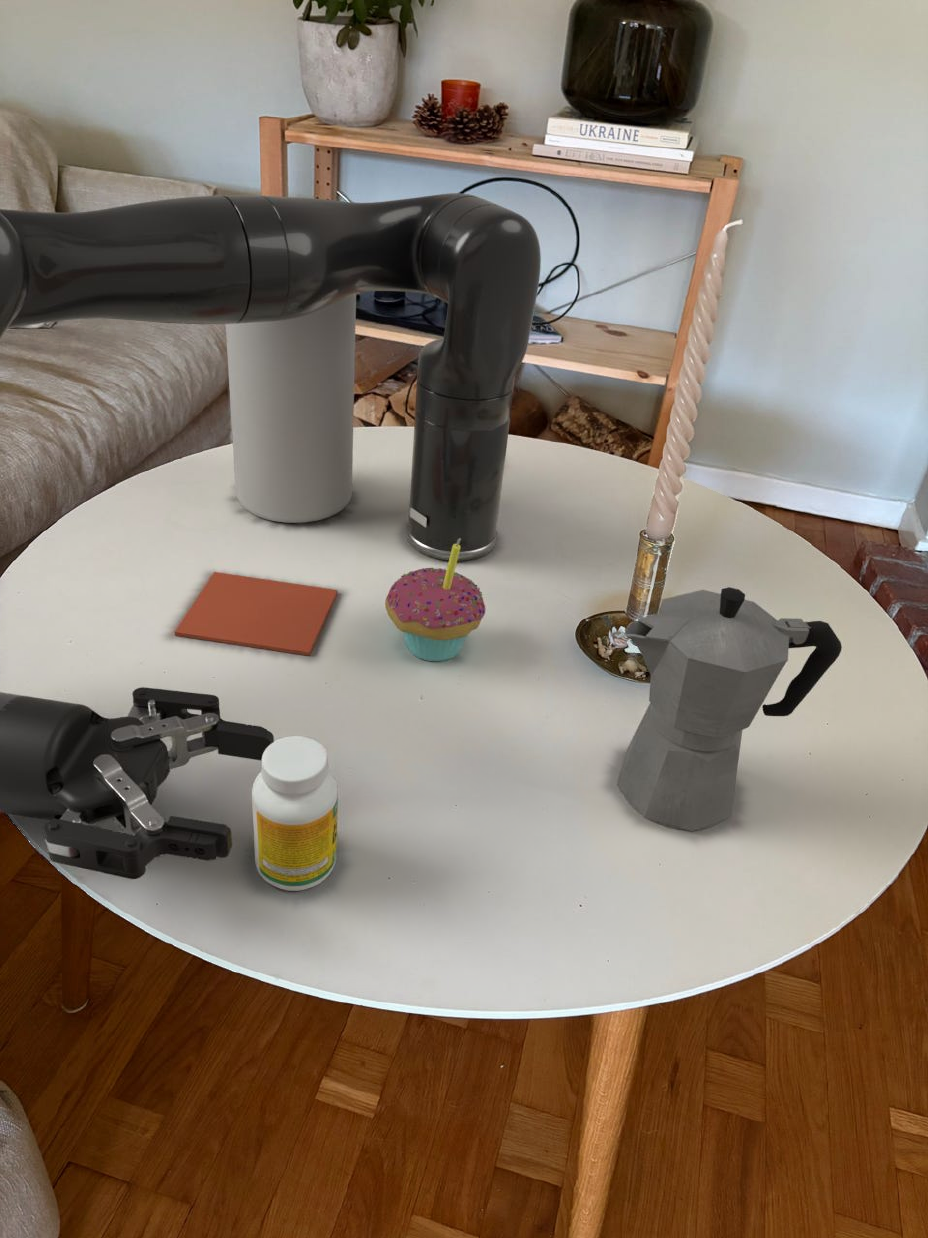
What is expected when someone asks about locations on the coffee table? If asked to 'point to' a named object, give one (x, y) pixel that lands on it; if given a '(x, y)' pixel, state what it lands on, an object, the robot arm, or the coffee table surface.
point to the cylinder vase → (294, 413)
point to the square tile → (258, 613)
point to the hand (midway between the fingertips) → (252, 791)
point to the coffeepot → (709, 699)
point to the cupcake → (435, 609)
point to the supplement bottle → (295, 814)
